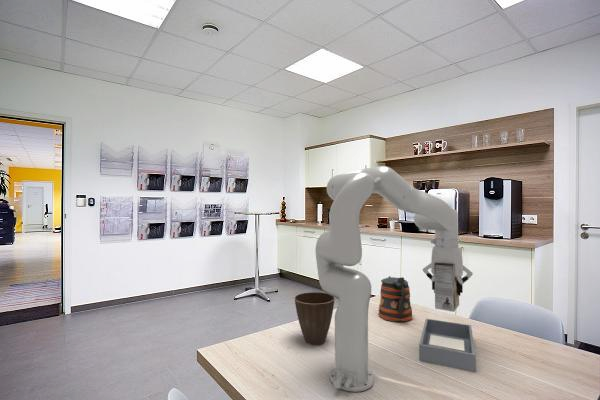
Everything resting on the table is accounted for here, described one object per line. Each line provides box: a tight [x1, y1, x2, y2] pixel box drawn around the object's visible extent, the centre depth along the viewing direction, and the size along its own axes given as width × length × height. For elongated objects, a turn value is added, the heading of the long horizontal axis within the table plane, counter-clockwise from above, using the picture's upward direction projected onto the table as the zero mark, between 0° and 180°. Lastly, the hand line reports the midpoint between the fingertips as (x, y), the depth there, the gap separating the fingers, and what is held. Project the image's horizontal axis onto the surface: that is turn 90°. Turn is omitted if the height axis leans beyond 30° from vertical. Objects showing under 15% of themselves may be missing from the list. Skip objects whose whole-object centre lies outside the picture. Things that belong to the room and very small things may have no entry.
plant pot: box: [294, 291, 336, 346], centre depth 116 cm, size 15×15×16 cm
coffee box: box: [434, 263, 460, 312], centre depth 111 cm, size 9×6×16 cm
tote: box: [418, 318, 477, 373], centre depth 107 cm, size 26×16×6 cm, turn 154°
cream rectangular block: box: [429, 335, 465, 352], centre depth 101 cm, size 8×10×5 cm
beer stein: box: [378, 275, 413, 323], centre depth 138 cm, size 19×15×20 cm
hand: (447, 293), depth 111 cm, fingers closed on coffee box, 7 cm apart
